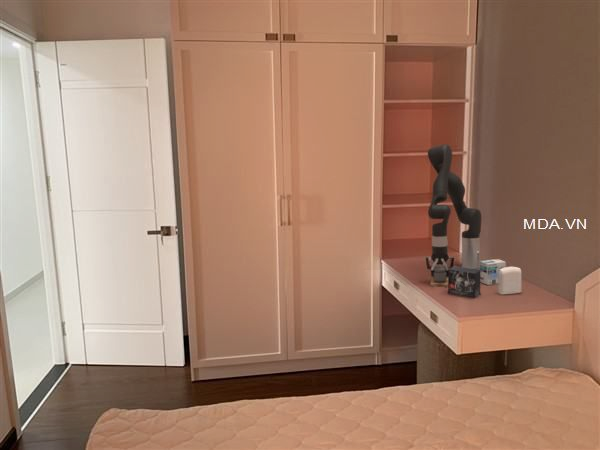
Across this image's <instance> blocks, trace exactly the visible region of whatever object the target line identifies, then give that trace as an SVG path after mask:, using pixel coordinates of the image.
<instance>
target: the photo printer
mask: <svg viewBox="0 0 600 450" xmlns="http://www.w3.org/2000/svg"><path fill="white" fill-rule="evenodd" d="M497 289H498V294H499V295H513V294H520V293H522V270H521V268H520V267H517V266H506V267H505V268H502V269H500V270H499V272H498V288H497Z"/></svg>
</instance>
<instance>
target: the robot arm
mask: <svg viewBox="0 0 600 450" xmlns="http://www.w3.org/2000/svg"><path fill="white" fill-rule="evenodd" d="M427 157H428V160H429V162H430V164H431V166H432V167H433V169H434V170H435V172H436V178H435V179H434V181H433V183H432V184H433V185H432V196H431V197H432V198H431V202H430V205H429V207H428V210H427V214H428V217H429V218H430V219H432V220H442V221H440V222H437V223H434V224H432V227H431V230H432V231H431V232H432V233H431V256H426V257H425V262H426V268H427V270H430V276H431V277H432V278H434V267H435V265H443V266H445V267H446V278H448V269H450V268H452V267H454V262H455V257H454V256H449V255H448V252H449V251H448V250H449V249H448V248H449V247H448V244H449V243H448V222H449V219H450V216H451V211H452V210H451V207H450V205H448V204H440V203H443V202H445V201H447V199H448V196H449V198H450V200H451V203H452V205H453V208H454V211H455V213H456V216H457V219H458V220H459V222H460V223H461V224H463V225H467V226H468V228H467V230H463V231H462V232H461V267H464V268H470V269H477V270H480V261H481V259H480V258H481V255H480V254H481V253H480V235H481V232H482V231H481V229H482V211H480V209H478V208H472V207H468V206H467V205H466V203H465V199H464V197H465V194H466V187H465V185H464V183H463V180H462V179H461V178H460V176H459V175H457V174H456V173H455V172H453V171H451V166H452V163H453V161H452V160H453V150H452V148H451V146H450V144H448V143H447V144H440V145H437V146H433V147H431V148H429V149H428V150H427ZM431 260H432V261H433V263H432V265H430V261H431ZM448 261H449V262H450V265H448V264H447V262H448Z"/></svg>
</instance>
